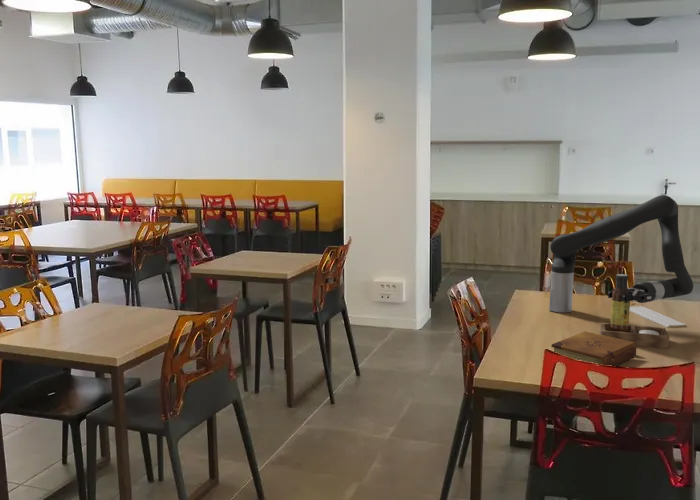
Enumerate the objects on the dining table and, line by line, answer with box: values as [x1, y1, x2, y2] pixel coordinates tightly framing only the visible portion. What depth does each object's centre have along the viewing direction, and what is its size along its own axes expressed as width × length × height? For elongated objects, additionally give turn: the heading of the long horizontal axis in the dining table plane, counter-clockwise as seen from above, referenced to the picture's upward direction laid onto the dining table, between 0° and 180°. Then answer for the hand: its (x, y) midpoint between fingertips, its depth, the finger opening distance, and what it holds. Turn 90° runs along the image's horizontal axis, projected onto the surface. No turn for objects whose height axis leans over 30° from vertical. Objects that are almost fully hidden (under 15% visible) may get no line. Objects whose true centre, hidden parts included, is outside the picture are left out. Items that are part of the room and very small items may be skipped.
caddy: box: [599, 322, 670, 349], centre depth 239 cm, size 22×12×5 cm, turn 71°
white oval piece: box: [639, 330, 659, 335], centre depth 237 cm, size 7×7×4 cm
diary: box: [551, 331, 638, 367], centre depth 222 cm, size 23×19×6 cm
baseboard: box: [629, 303, 687, 328], centre depth 274 cm, size 30×3×10 cm
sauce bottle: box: [610, 273, 631, 330], centre depth 239 cm, size 7×6×20 cm
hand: (616, 296), depth 237 cm, fingers closed on sauce bottle, 6 cm apart
